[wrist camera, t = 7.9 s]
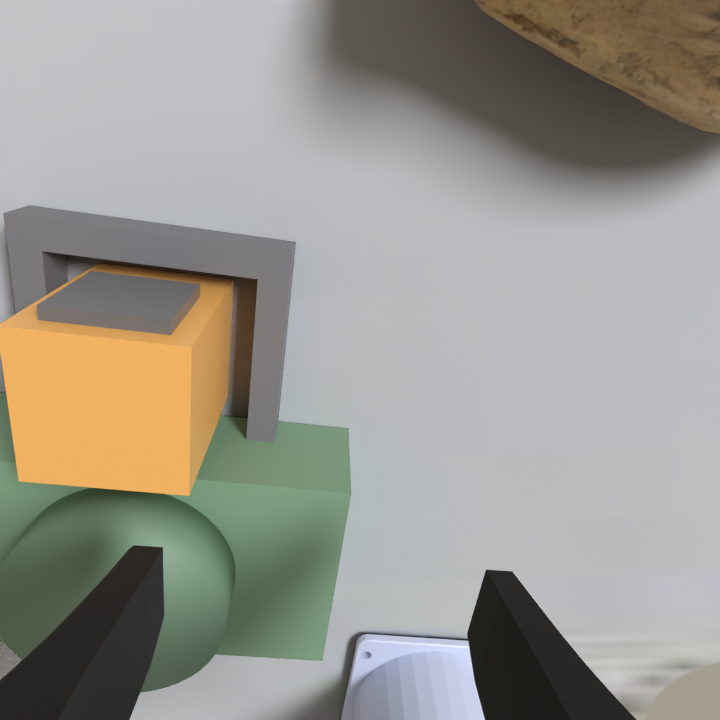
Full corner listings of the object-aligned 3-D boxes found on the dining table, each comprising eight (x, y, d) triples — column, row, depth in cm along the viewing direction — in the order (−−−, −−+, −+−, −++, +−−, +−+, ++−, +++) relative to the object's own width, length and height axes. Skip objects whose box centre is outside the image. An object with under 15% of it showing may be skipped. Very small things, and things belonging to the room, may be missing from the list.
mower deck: (324, 579, 24) (320, 713, 19) (-3, 554, 23) (-108, 691, 17) (376, 252, 18) (394, 311, 13) (-63, 192, 17) (-252, 229, 11)
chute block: (228, 394, 20) (189, 496, 15) (105, 381, 20) (18, 481, 14) (234, 268, 18) (191, 332, 13) (98, 251, 18) (-6, 309, 12)
